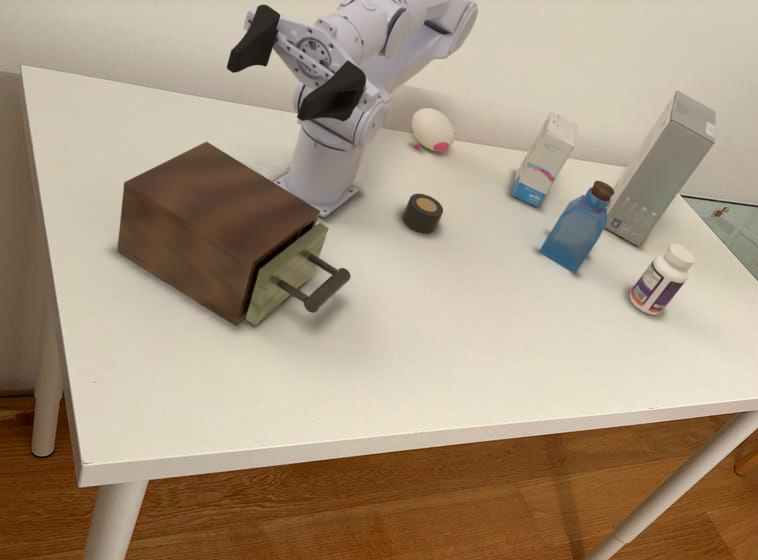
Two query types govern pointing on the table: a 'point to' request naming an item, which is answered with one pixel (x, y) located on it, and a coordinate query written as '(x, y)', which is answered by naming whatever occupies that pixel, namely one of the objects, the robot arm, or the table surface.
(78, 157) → the table surface
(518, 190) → the ink box
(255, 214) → the cabinet
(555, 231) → the perfume bottle
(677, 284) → the pill bottle
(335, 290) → the drawer
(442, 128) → the stress ball
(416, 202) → the tape
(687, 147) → the hard drive box
